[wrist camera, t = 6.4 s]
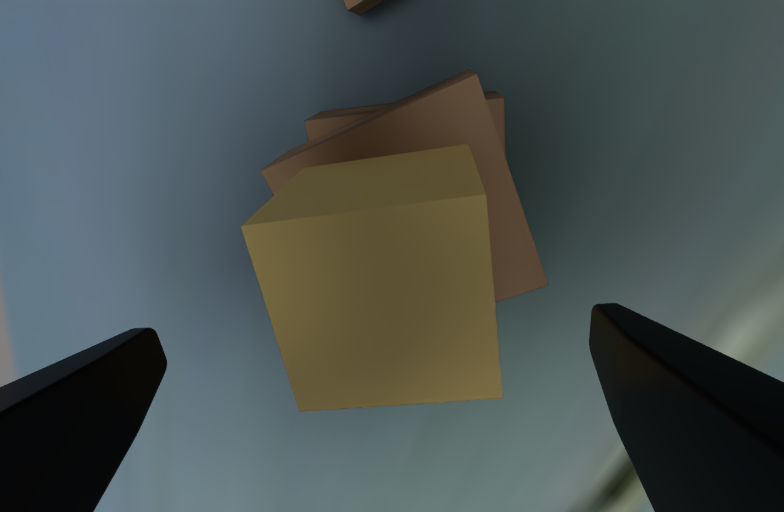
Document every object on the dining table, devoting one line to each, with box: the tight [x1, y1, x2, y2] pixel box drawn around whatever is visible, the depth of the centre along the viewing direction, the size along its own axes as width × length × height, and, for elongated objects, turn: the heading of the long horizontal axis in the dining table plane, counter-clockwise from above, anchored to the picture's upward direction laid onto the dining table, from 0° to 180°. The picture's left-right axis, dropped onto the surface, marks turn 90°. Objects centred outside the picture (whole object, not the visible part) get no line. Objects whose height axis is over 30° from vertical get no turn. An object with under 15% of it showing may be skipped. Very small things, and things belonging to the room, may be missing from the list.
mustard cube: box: [241, 144, 503, 412], centre depth 12 cm, size 5×5×5 cm
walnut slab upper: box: [261, 69, 548, 302], centre depth 16 cm, size 7×7×3 cm
